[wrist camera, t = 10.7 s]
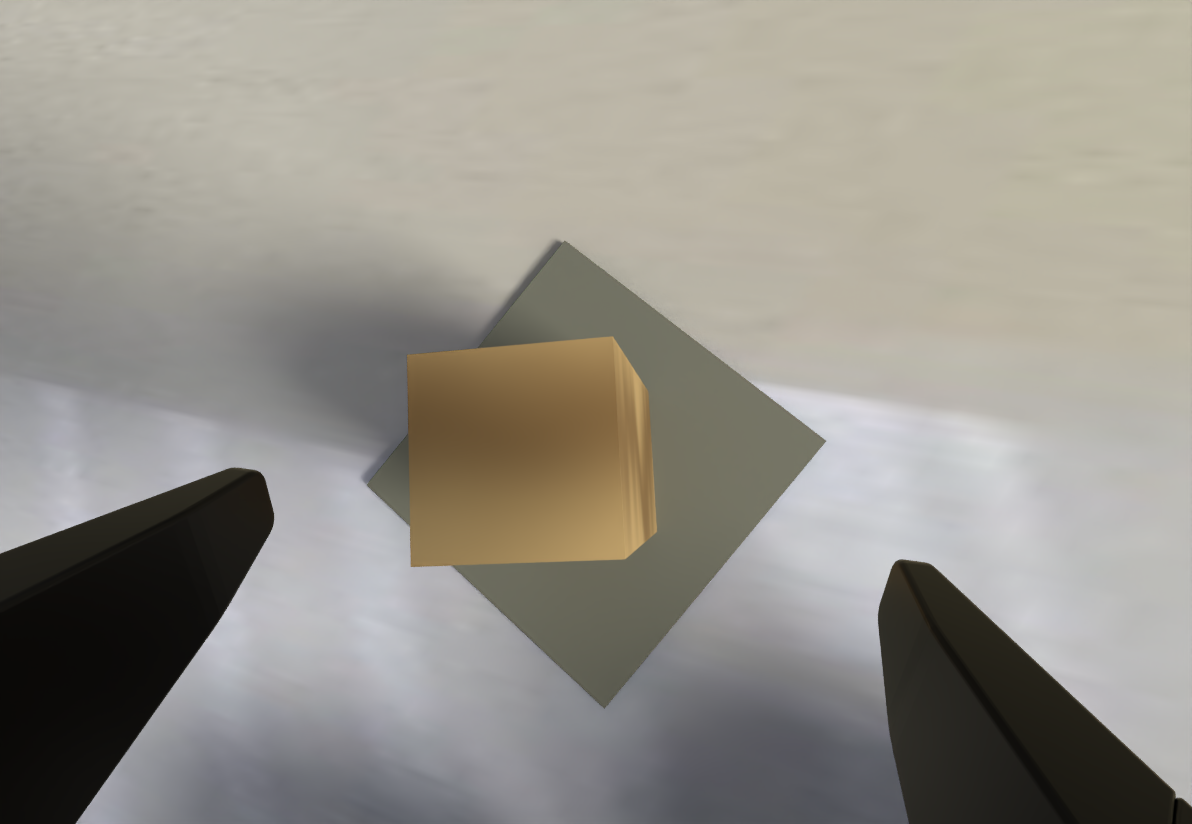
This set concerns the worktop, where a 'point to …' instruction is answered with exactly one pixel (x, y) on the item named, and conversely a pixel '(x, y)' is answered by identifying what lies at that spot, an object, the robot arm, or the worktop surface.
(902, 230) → the worktop surface
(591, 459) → the oak block
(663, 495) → the slate mat
